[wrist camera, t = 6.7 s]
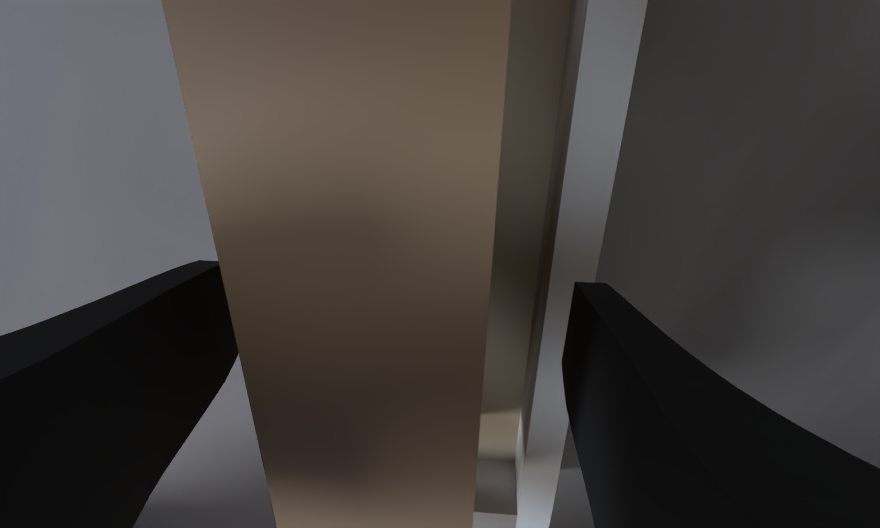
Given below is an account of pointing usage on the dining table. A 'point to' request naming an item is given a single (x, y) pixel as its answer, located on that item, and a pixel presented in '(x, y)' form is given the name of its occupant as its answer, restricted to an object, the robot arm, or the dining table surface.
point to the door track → (547, 235)
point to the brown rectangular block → (353, 239)
